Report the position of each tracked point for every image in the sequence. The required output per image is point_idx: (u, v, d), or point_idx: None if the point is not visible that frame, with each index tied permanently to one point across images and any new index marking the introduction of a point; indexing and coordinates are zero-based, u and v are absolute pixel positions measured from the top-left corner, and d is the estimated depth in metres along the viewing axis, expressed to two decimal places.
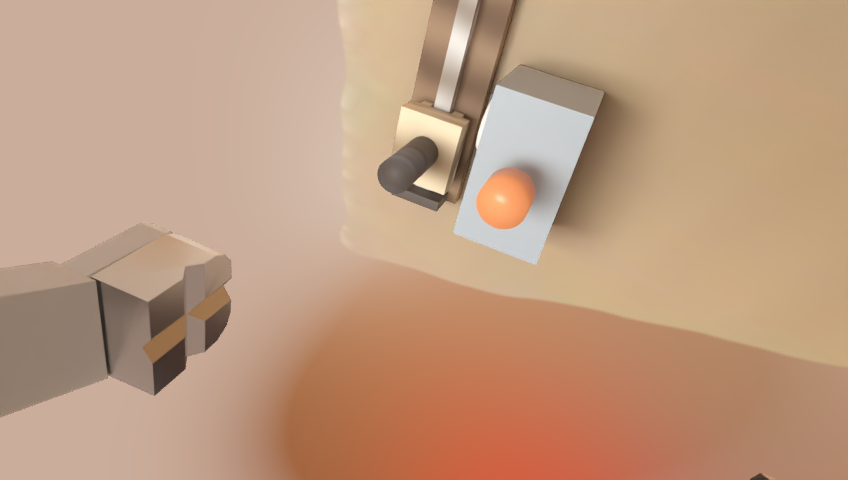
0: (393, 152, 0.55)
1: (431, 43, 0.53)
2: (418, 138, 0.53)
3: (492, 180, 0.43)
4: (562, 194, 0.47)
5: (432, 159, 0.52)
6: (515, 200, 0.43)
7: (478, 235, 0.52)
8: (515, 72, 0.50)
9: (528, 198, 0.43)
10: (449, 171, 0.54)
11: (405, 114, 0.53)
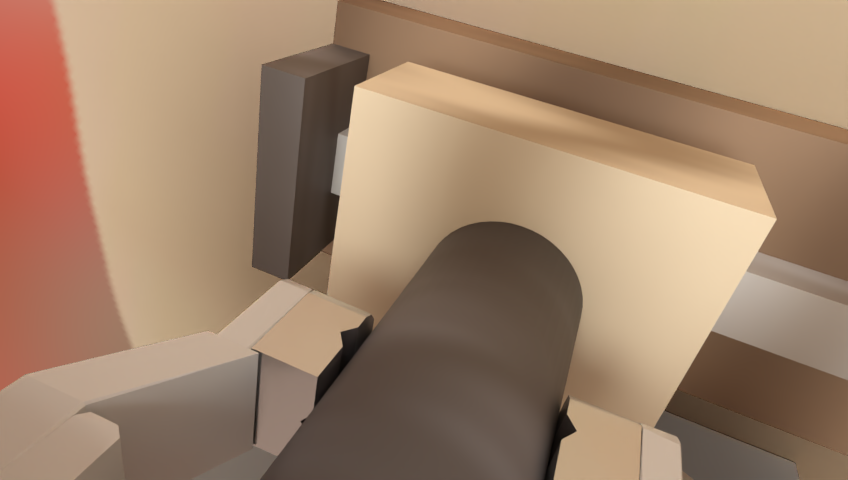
0: (480, 134, 0.10)
1: None
2: (577, 322, 0.10)
3: None
4: None
5: None
6: None
7: None
8: None
9: None
10: None
11: (717, 234, 0.09)
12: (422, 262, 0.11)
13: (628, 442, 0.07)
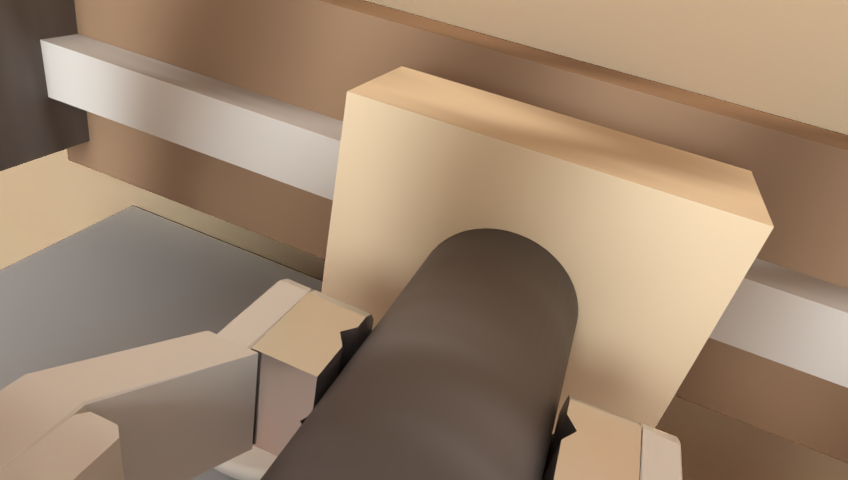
0: (474, 140, 0.09)
1: (563, 105, 0.13)
2: (572, 331, 0.09)
3: None
4: None
5: None
6: None
7: None
8: None
9: None
10: None
11: (713, 242, 0.09)
12: (416, 269, 0.11)
13: (628, 442, 0.07)
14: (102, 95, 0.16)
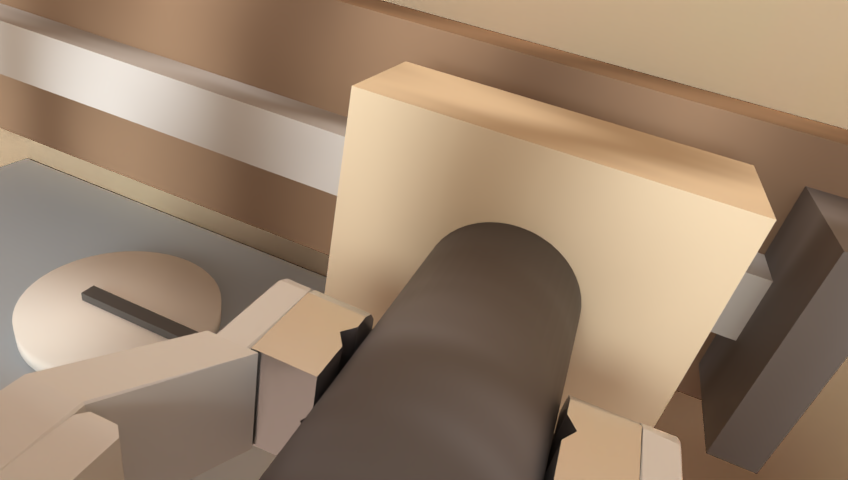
0: (478, 134, 0.09)
1: (357, 39, 0.14)
2: (575, 324, 0.10)
3: None
4: None
5: None
6: None
7: None
8: None
9: None
10: None
11: (716, 235, 0.09)
12: (420, 263, 0.11)
13: (628, 442, 0.07)
14: None
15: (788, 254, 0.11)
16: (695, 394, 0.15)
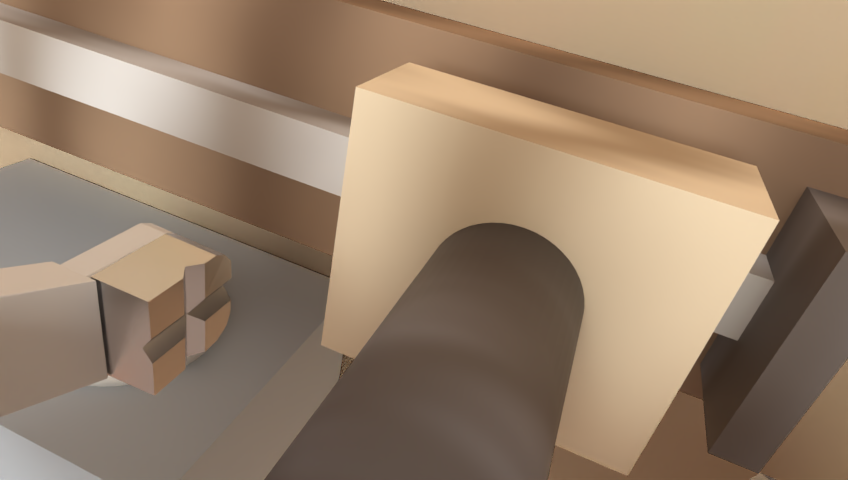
0: (482, 135, 0.10)
1: (359, 39, 0.14)
2: (578, 324, 0.10)
3: None
4: None
5: None
6: None
7: None
8: (299, 354, 0.17)
9: None
10: None
11: (719, 236, 0.09)
12: (423, 263, 0.11)
13: None
14: None
15: (790, 254, 0.11)
16: (696, 394, 0.15)
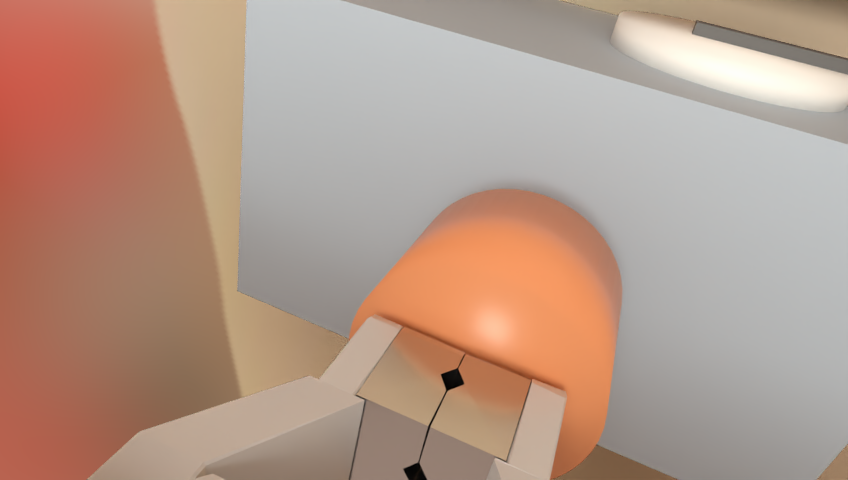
0: None
1: None
2: None
3: (599, 351, 0.08)
4: None
5: None
6: None
7: (272, 96, 0.12)
8: None
9: None
10: None
11: None
12: None
13: (514, 394, 0.07)
14: None
15: None
16: None
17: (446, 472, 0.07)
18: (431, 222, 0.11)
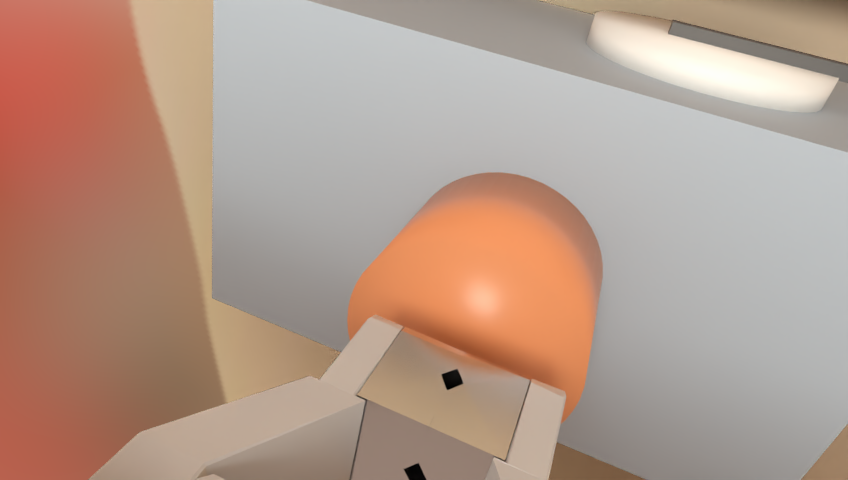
0: None
1: None
2: None
3: (579, 315, 0.09)
4: None
5: None
6: None
7: (241, 99, 0.12)
8: None
9: None
10: None
11: None
12: None
13: (512, 394, 0.07)
14: None
15: None
16: None
17: (444, 472, 0.07)
18: None
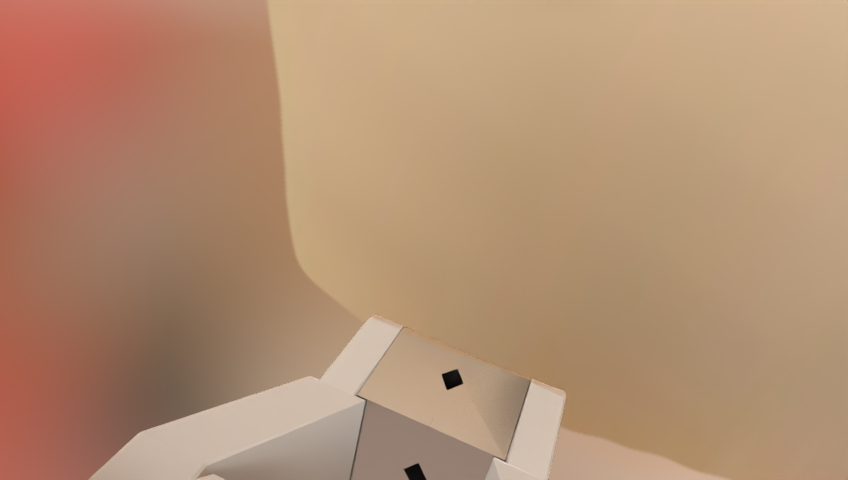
0: None
1: None
2: None
3: None
4: None
5: None
6: None
7: None
8: None
9: None
10: None
11: None
12: None
13: (513, 394, 0.07)
14: None
15: None
16: None
17: (445, 472, 0.07)
18: None
